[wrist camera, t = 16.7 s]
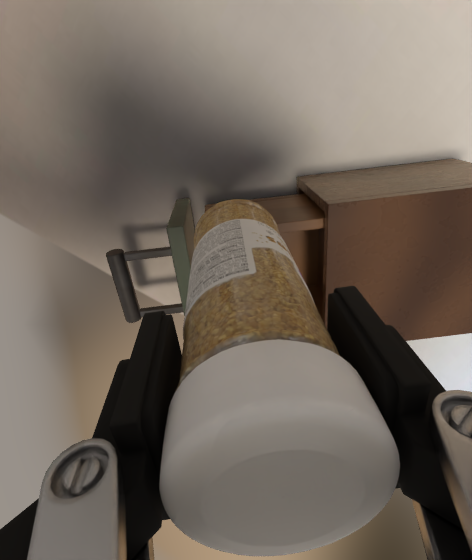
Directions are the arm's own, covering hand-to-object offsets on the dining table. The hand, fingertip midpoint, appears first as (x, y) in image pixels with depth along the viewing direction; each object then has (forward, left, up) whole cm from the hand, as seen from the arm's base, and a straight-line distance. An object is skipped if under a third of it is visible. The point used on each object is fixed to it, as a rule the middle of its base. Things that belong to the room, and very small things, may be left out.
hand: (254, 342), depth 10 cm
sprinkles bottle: (0, 0, -9) cm, 9 cm away
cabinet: (+14, -7, -23) cm, 28 cm away
